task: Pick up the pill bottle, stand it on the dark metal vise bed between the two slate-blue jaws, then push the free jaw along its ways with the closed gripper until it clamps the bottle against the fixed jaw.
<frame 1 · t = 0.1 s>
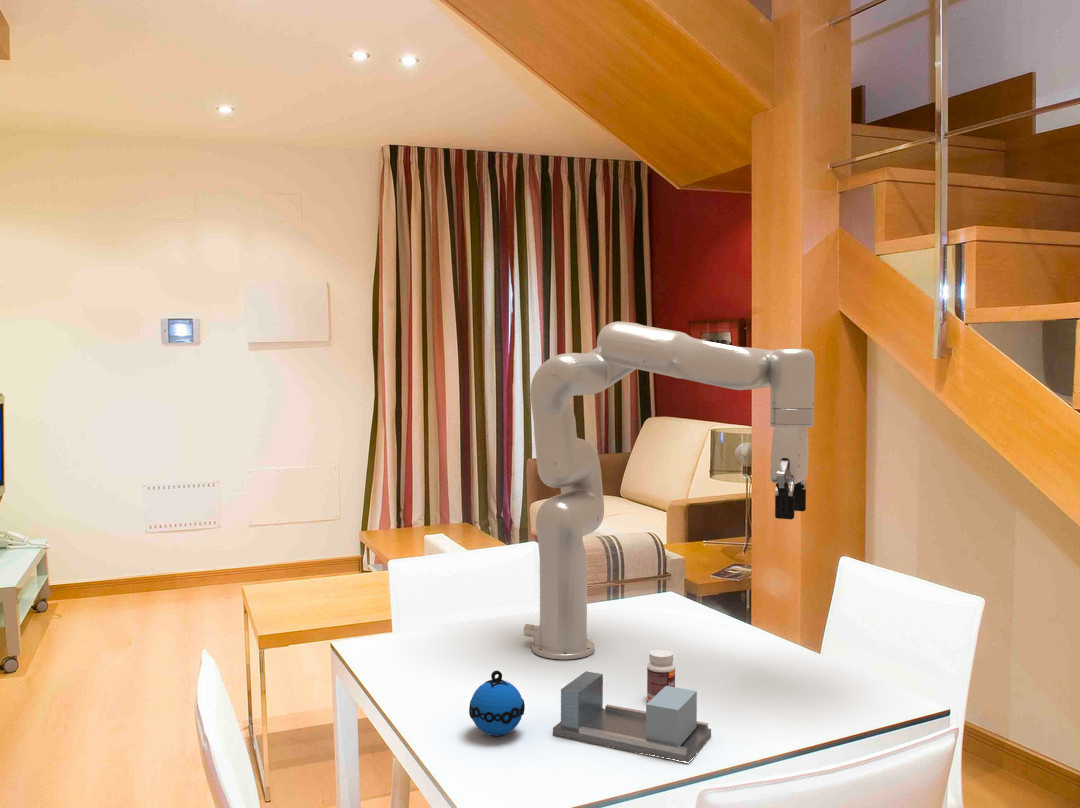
hand: (790, 514, 161), 31 cm above the table, fingers open, 9 cm apart
vise base: (631, 735, 141), on the table
pill bottle: (661, 702, 156), on the table
free jaw: (671, 715, 138), point 4 cm above the table, slide at 0.0 cm
ornament: (497, 735, 142), on the table
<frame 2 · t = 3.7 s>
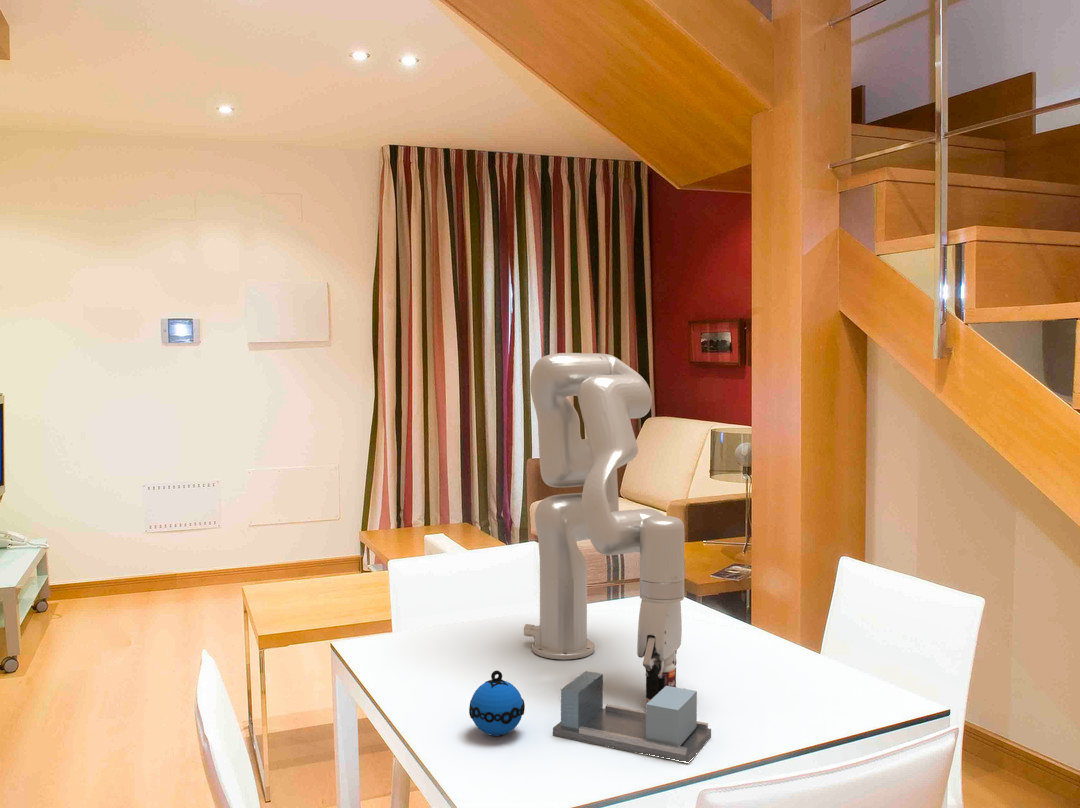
hand: (661, 693, 156), 1 cm above the table, fingers closed on pill bottle, 4 cm apart
pill bottle: (661, 702, 156), on the table, touching gripper
everything else where it was.
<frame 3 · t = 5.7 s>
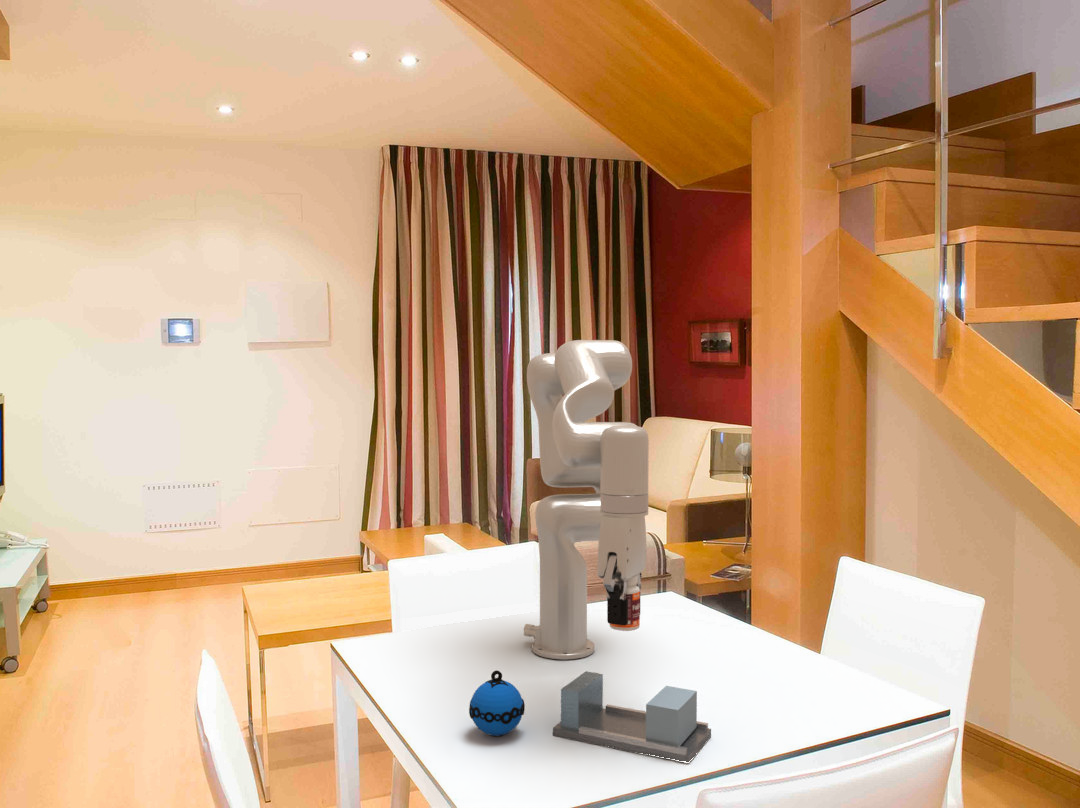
hand: (624, 618, 143), 18 cm above the table, fingers closed on pill bottle, 4 cm apart
pill bottle: (624, 628, 143), point 16 cm above the table, touching gripper
everything else where it was.
when the fingers open (3 cm above the table, at t = 7.9 s): pill bottle stays where it is, resting on vise base.
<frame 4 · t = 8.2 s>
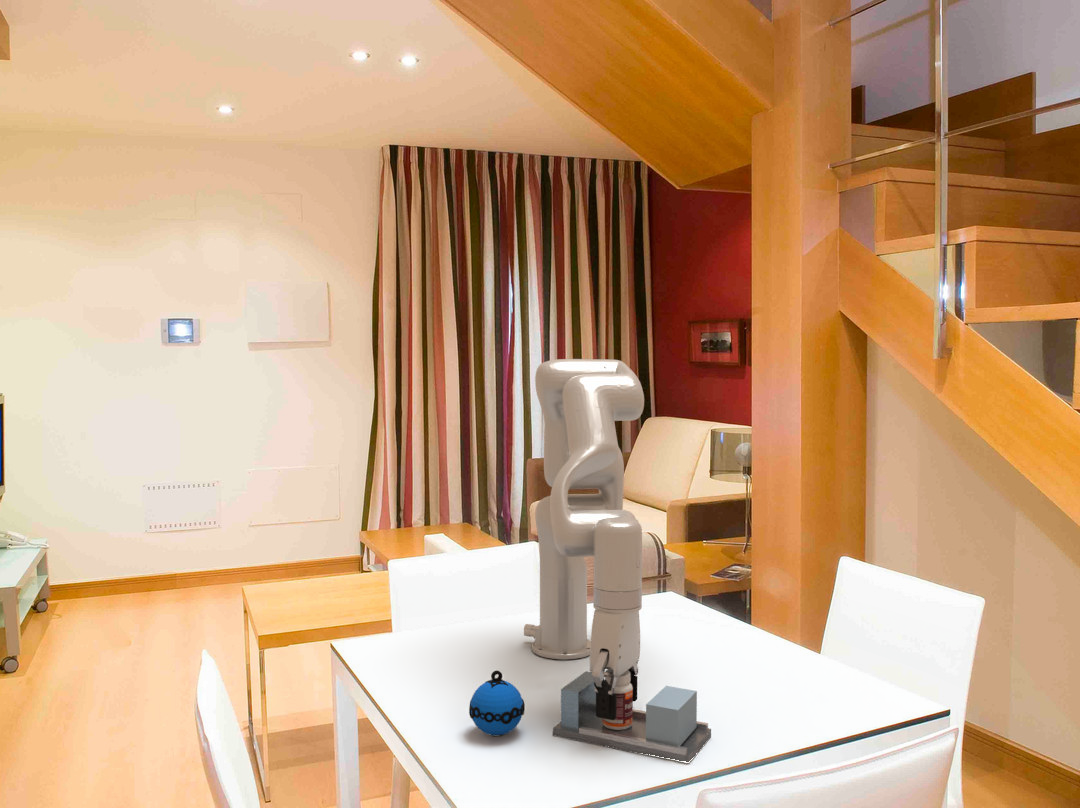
hand: (617, 708, 142), 4 cm above the table, fingers open, 8 cm apart
pill bottle: (617, 726, 143), point 1 cm above the table, touching vise base
everything else where it was.
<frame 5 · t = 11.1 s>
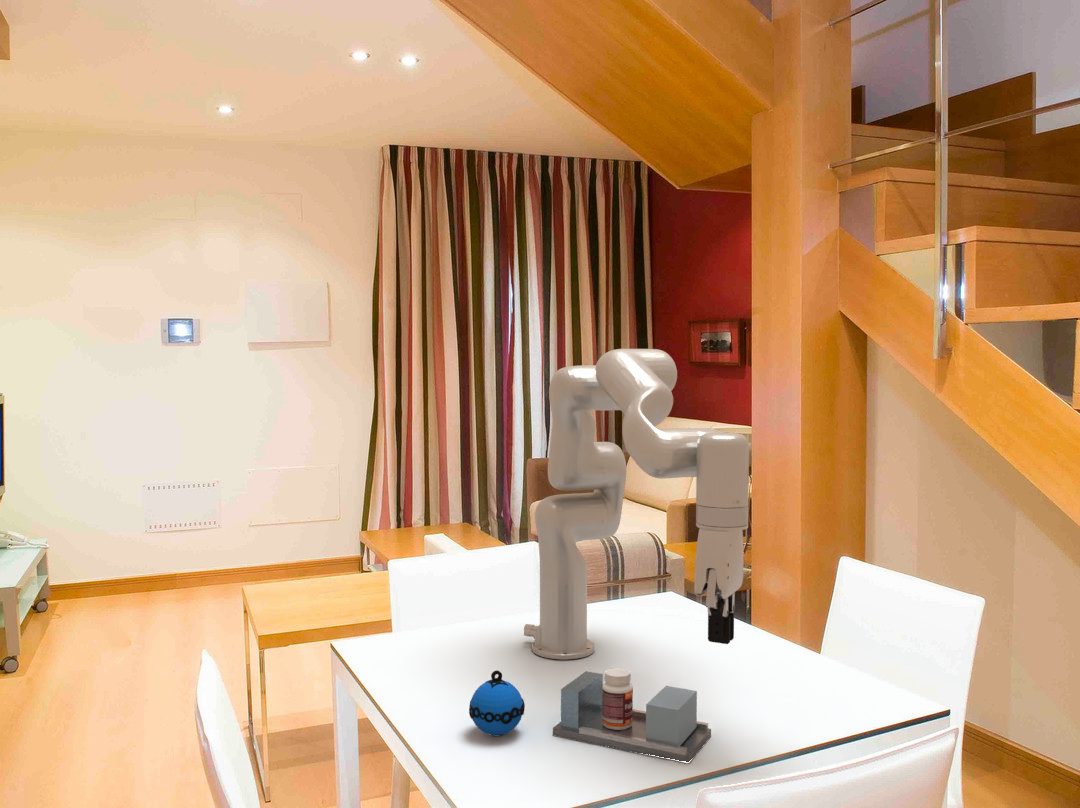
hand: (720, 640, 134), 17 cm above the table, fingers closed
nothing on the table moved.
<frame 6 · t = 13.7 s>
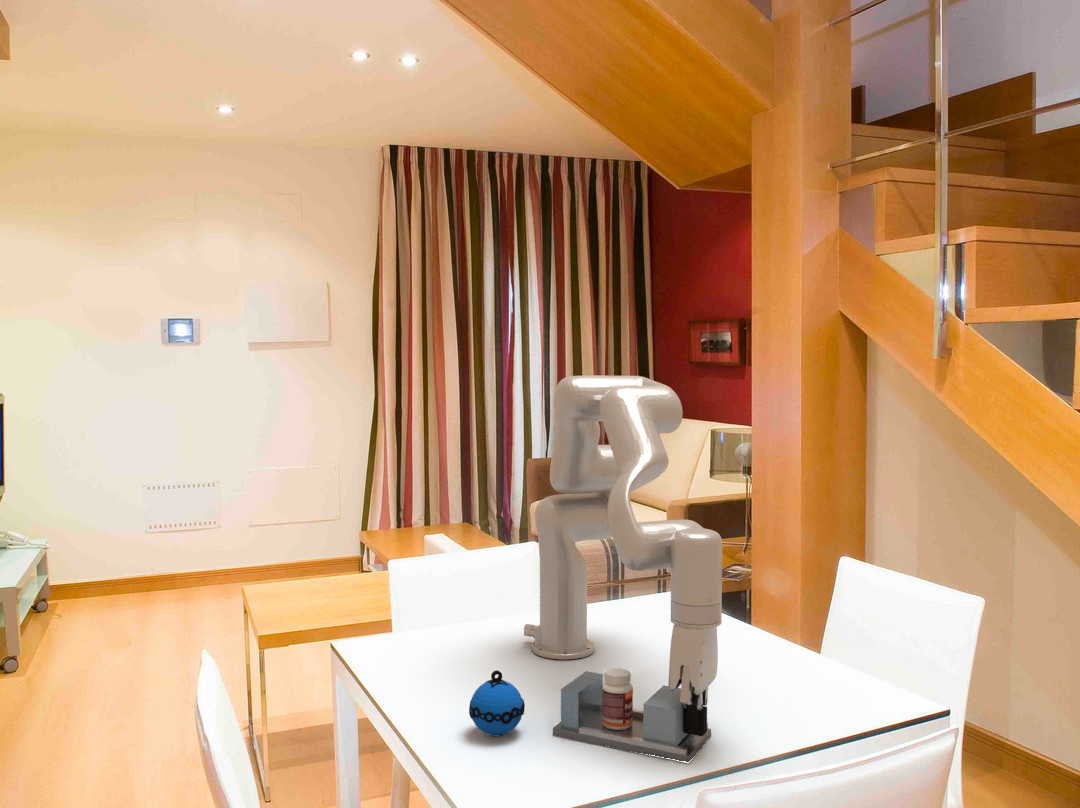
hand: (695, 732, 136), 2 cm above the table, fingers closed
free jaw: (669, 715, 138), point 4 cm above the table, slide at 0.4 cm, touching gripper
everything else where it was.
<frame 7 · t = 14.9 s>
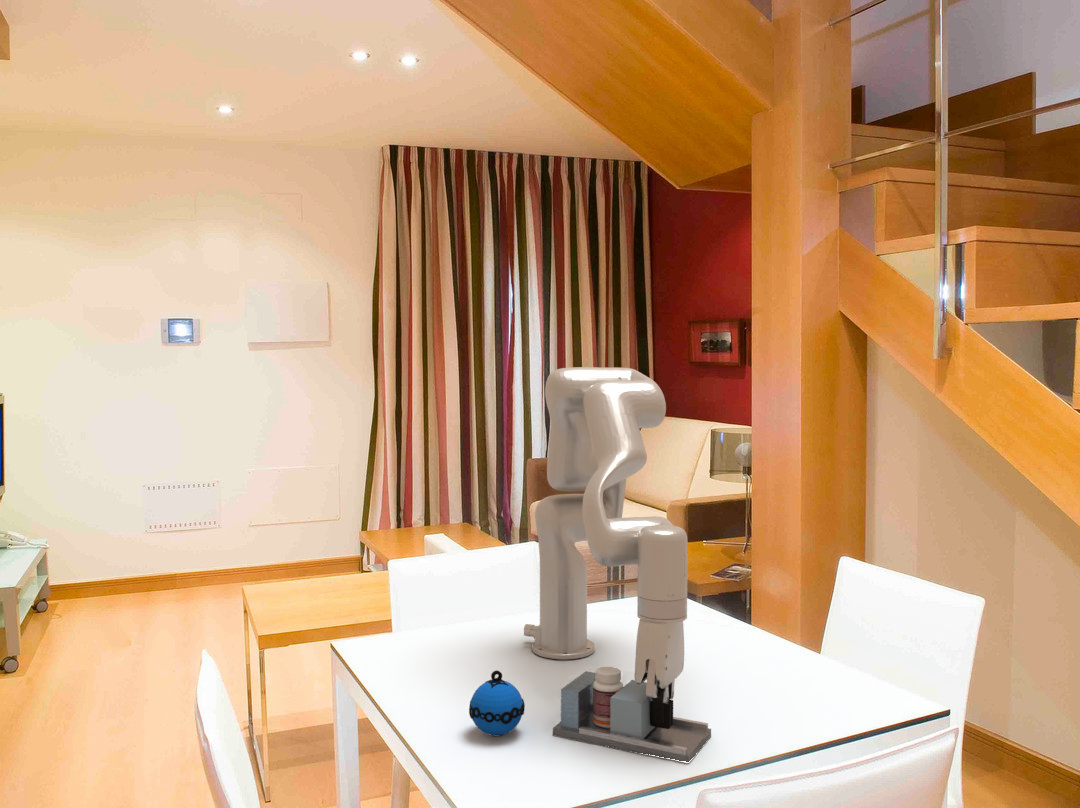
hand: (661, 725, 139), 3 cm above the table, fingers closed
pill bottle: (608, 724, 143), point 1 cm above the table, touching free jaw, vise base
free jaw: (636, 709, 141), point 4 cm above the table, slide at 5.8 cm, touching gripper, pill bottle
everything else where it was.
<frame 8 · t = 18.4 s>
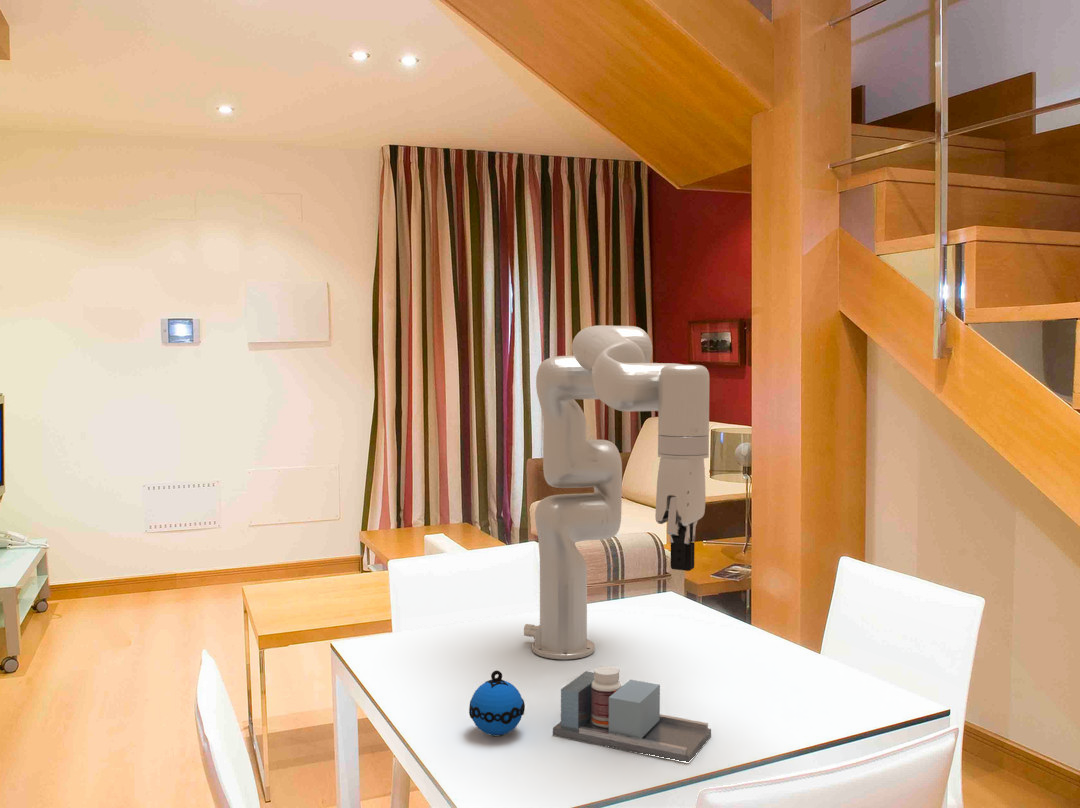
hand: (682, 568, 136), 27 cm above the table, fingers closed
pill bottle: (606, 723, 143), point 1 cm above the table, touching vise base
free jaw: (634, 708, 141), point 4 cm above the table, slide at 6.0 cm
everything else where it was.
at the end: free jaw slide at 6.0 cm; pill bottle inside the target area (1.2 cm from its centre), point 1.0 cm above the table; pill bottle tilted 0° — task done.
